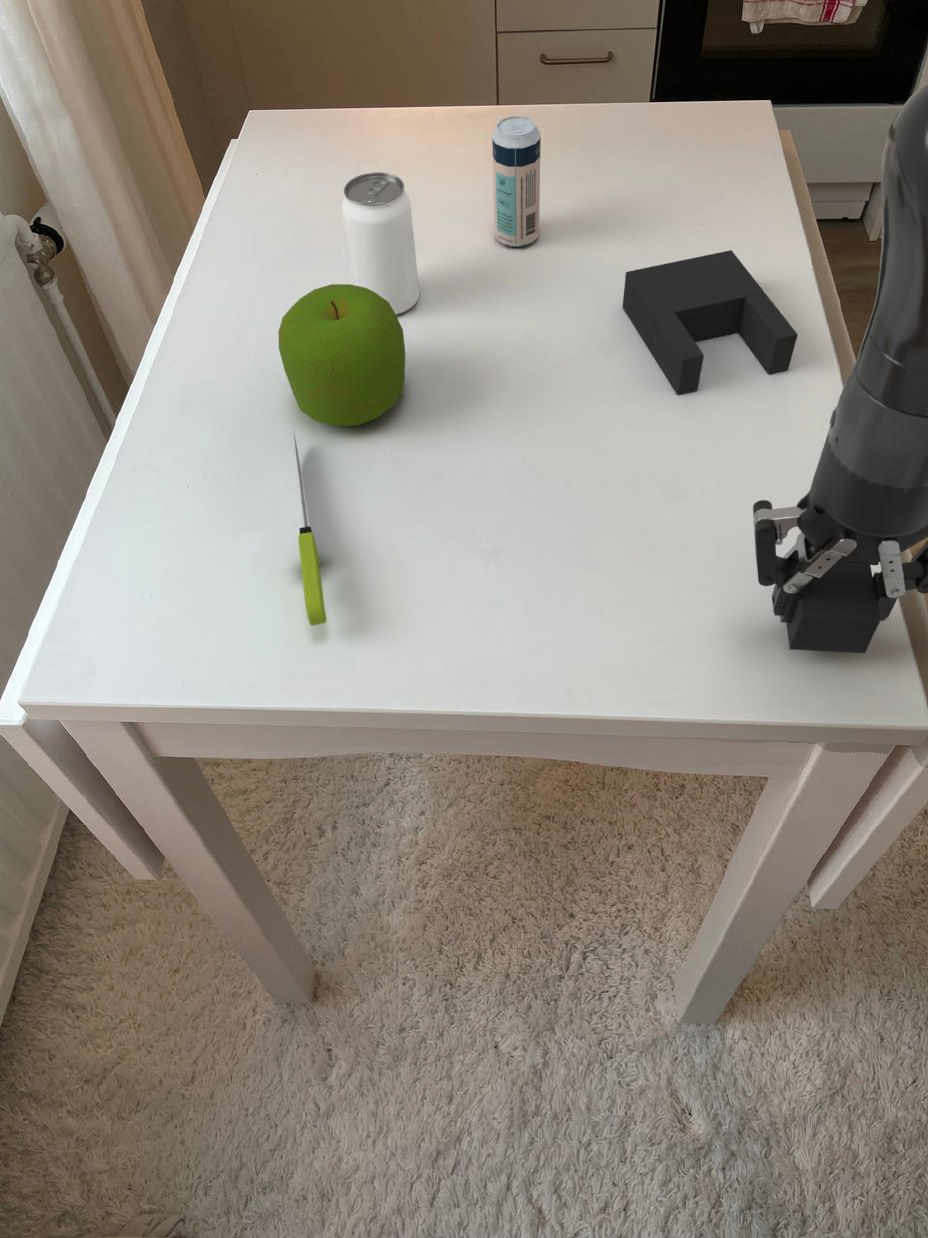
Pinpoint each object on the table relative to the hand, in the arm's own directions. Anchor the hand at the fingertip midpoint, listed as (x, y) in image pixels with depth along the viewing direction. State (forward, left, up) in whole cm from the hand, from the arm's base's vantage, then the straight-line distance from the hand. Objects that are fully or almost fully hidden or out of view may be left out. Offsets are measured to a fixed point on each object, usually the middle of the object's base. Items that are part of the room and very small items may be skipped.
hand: (826, 614), depth 68 cm
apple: (+45, -10, -3) cm, 46 cm away
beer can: (+41, -40, -3) cm, 58 cm away
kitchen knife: (+40, +6, -3) cm, 41 cm away
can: (+49, -25, -3) cm, 55 cm away
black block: (0, 0, -1) cm, 1 cm away
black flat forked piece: (+18, -31, -3) cm, 36 cm away
